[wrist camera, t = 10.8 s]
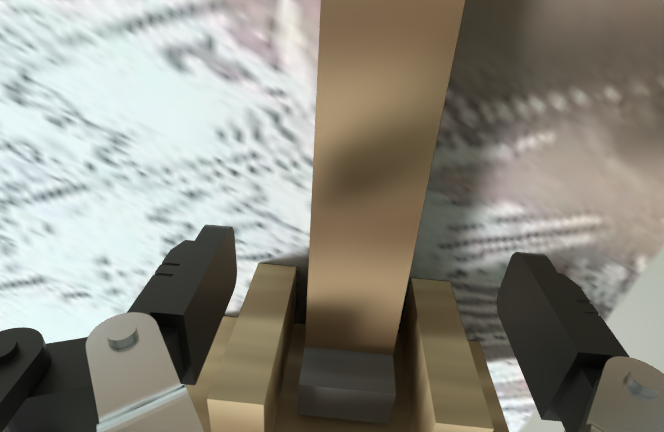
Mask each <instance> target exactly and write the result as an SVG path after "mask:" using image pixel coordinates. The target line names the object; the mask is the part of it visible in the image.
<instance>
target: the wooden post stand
mask: <svg viewBox="0 0 664 432" xmlns="http://www.w3.org/2000/svg"><path fill="white" fill-rule="evenodd" d="M295 298H296V267H292V266H281V265H271V264H261V263H258V266H257V269H256V271H255V274H254V276H253V279H252V282H251V284H250V287H249V290H248V292H247V295H246V298H245V300H244V303H243V305H242V308H241V311H240V313H239V316H238V317H228V316H223V318H222V321H221V323H220V326H219V328H218V331H217V333H216V336H215V338H214V341H213V343H212V346H211V348H210V351H209V353H208V355H207V358H206V360H205V363H204V365H203V368H202V370H201V373H200V375H199V378H198V380H197V383H196V385H186V386H185V387H186V389H187V391H188V393H189V395H190V398H191V400H192V403H193V405H194V408H195V410H196V412H197V415H198V417H199V420H200V422H201V425H202V427H203V430H204V432H509V430H508V427H507V424H506V421H505V418H504V415H503V412H502V409H501V406H500V403H499V400H498V397H497V394H496V391H495V388H494V385H493V382H492V379H491V376H490V373H489V369H488V366H487V363H486V360H485V357H484V354H483V351H482V348H481V345H480V342H478V341H468V340H467V337H466V333H465V330H464V327H463V323H462V320H461V317H460V313H459V310H458V307H457V303H456V300H455V296H454V293H453V290H452V286H451V283H450V282H447V281H437V280H427V279H416V278H411V283H410V287H409V292H408V297H407V301H406V306H405V311H404V316H403V320H402V325H401V330H400V334H398V333H397V338H396V343H395V347H394V352H393V363H394V375H395V387H396V397H395V401H394V406H393V410H392V415H391V419H390V424H384V423H374V422H365V421H355V420H345V419H336V418H326V417H316V416H307V415H298V390H299V379H300V373H301V367H302V361H303V355H304V348H305V332H306V324H298V323H295Z"/></svg>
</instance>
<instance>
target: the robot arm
mask: <svg viewBox="0 0 664 432" xmlns="http://www.w3.org/2000/svg"><path fill="white" fill-rule="evenodd" d="M236 278H237V264H236V251H235V237H234V230H233V228H232V227H228V226H217V225H205V226H204V227H203V229H202V230H201V232H200V233H199V235H198V236H197V238H196V240H195V241H189V240H185V241H183V242H182V243H180V244H179V245H177V246H176V247H175V248H173V249H172V250H170V252H169V253H168V255H167V256H166V257H165V259H164V260H163V262H162V265H160V266H159V267H158V269H157V270H156V272H155V275H153V276H152V277H151V279H150V280H149V282H148V283H147V285H146V286H145V287H144V289H143V290H142V292H141V293H140V295H139V296H138V297H137V299H136V300H135V302H134V303H133V305H132V306H131V307H130V309H129V310H128V312H127V313H124V314H120V315H116V316H114V317H111V318H109V319H107V320H105V321H104V322H102V323H101V324H99V325H98V326H97V327H96V328H95V329H94V330H93V331H92V332H91V333H90V335H89V336H88V337H85V338H80V339H74V340H68V341H61V342H55V343H49V344H45V341H44V339H43V337H42V335H41V334H40V333H39V332H38V331H37V330H35V329H31V328H12V329H8V330H4V331H1V332H0V432H204V430H203V427H202V425H201V422H200V420H199V417H198V415H197V412H196V410H195V408H194V405H193V403H192V400H191V398H190V395H189V393H188V391H187V389H186V387H185V385H196V383H197V380H198V378H199V375H200V373H201V370H202V368H203V365H204V363H205V360H206V358H207V355H208V353H209V351H210V348H211V346H212V343H213V341H214V338H215V336H216V333H217V331H218V328H219V326H220V323H221V321H222V318H223V316H224V314H225V311H226V309H227V306H228V304H229V301H230V299H231V296H232V294H233V291H234V288H235V284H236ZM589 302H590V301H589V299H588V298H587V297H586V295H585V294H584V292H583V291H582V290H581V288H580V287H579V286H578V285H577V284H575V283H574V282H573V281H572V280H570V279H569V278H568V277H567V276H565V275H564V274H560V273H558V272H557V271H556V269H555V268H554V266H553V265H552V263H551V262H550V260H549V259H548V258H547V256H546V255H544V254H533V253H522V252H516V253H514V254H513V255H512V257H511V259H510V262H509V265H508V267H507V270H506V273H505V276H504V279H503V281H502V284H501V287H500V290H499V292H498V296H497V311H498V315H499V317H500V320H501V322H502V325H503V327H504V330H505V332H506V334H507V337H508V339H509V342H510V344H511V347H512V349H513V351H514V354H515V356H516V359H517V361H518V364H519V366H520V368H521V371H522V373H523V376H524V378H525V380H526V383H527V385H528V388H529V390H530V393H531V395H532V397H533V400H534V402H535V405H536V407H537V410H538V412H539V414H540V417H541V419H542V420H552V421H561V422H562V424H563V426H564V428H565V431H564V432H664V374H663V373H662V372H660V371H659V370H657V369H656V368H654V367H653V366H650V365H649V364H647V363H645V362H642V361H640V360H637V359H634V358H630V357H629V355H628V354H627V353H626V351H625V350H624V348H623V347H622V346H621V344H620V343H619V342H618V340H617V339H616V337H615V336H614V334H613V333H612V332H611V330H610V329H609V327H608V326H607V325H606V323H605V322H604V320H603V319H602V318H601V316H598V312H597V311H596V309H595V308H594V306H593V305H592V304H590V303H589ZM181 384H185V385H183V386H182V385H181Z"/></svg>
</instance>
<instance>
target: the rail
mask: <svg viewBox="0 0 664 432" xmlns="http://www.w3.org/2000/svg"><path fill="white" fill-rule="evenodd" d="M464 5H465V0H321V12H320V34H319V55H318V76H317V97H316V119H315V140H314V161H313V183H312V204H311V225H310V247H309V268H308V289H307V311H306V332H305V348H304V355H303V361H302V367H301V373H300V379H299V390H298V415H307V416H316V417H326V418H336V419H345V420H355V421H365V422H374V423H384V424H390V419H391V415H392V410H393V406H394V401H395V397H396V387H395V375H394V363H393V352H394V347H395V343H396V338H397V333H398V328H399V323H400V318H401V313H402V308H403V303H404V298H405V294H406V289H407V284H408V279H409V274H410V269H411V264H412V259H413V254H414V249H415V245H416V240H417V235H418V230H419V225H420V220H421V215H422V210H423V205H424V201H425V196H426V191H427V186H428V181H429V176H430V171H431V166H432V161H433V156H434V152H435V147H436V142H437V137H438V132H439V127H440V122H441V117H442V112H443V107H444V103H445V98H446V93H447V88H448V83H449V78H450V73H451V68H452V63H453V58H454V54H455V49H456V44H457V39H458V34H459V29H460V24H461V19H462V14H463V9H464Z"/></svg>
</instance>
